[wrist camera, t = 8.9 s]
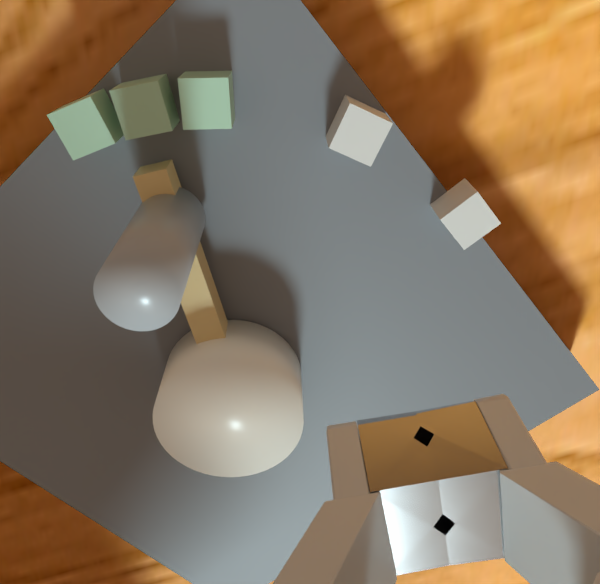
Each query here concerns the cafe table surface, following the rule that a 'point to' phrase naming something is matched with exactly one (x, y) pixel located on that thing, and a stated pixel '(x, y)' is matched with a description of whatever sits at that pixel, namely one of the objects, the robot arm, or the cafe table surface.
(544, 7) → the cafe table surface
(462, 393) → the dial plate
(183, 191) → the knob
